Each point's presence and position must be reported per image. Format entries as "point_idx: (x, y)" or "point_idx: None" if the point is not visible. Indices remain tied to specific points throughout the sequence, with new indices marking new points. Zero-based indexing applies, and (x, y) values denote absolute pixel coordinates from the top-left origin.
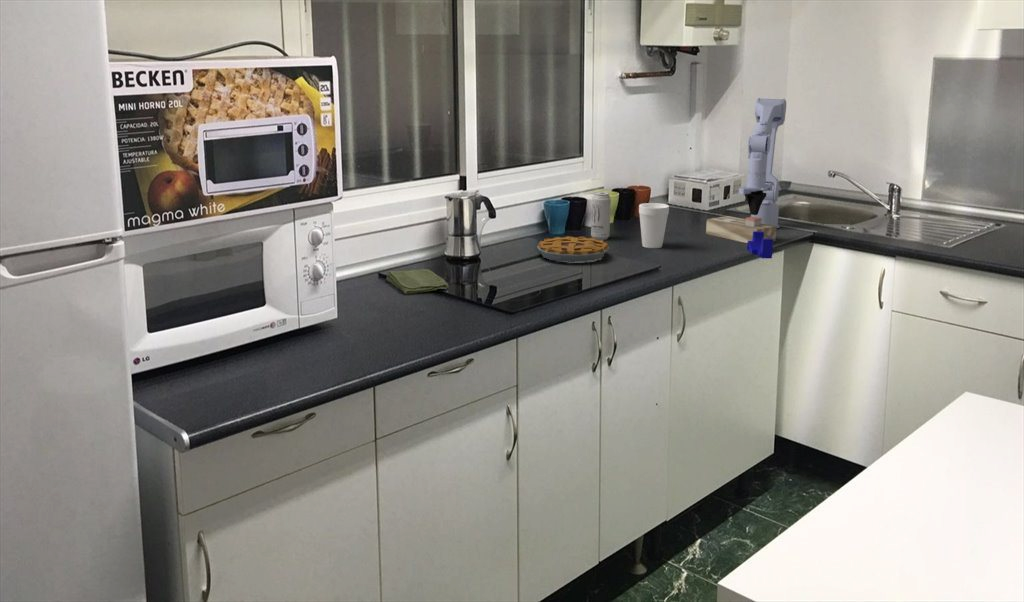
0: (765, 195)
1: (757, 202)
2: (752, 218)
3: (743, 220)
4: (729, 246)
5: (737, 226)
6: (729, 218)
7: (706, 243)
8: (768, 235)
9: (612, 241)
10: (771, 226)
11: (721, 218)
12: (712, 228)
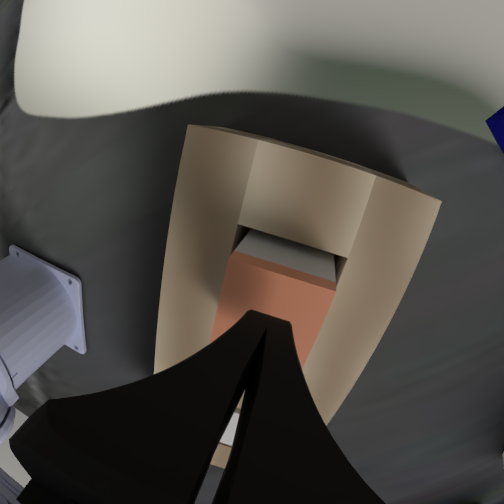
0: (72, 427)
1: (297, 421)
2: (292, 323)
3: None
4: (495, 285)
5: (365, 360)
6: None
7: (468, 378)
8: (291, 145)
9: (486, 494)
10: (233, 146)
11: (218, 453)
12: None
